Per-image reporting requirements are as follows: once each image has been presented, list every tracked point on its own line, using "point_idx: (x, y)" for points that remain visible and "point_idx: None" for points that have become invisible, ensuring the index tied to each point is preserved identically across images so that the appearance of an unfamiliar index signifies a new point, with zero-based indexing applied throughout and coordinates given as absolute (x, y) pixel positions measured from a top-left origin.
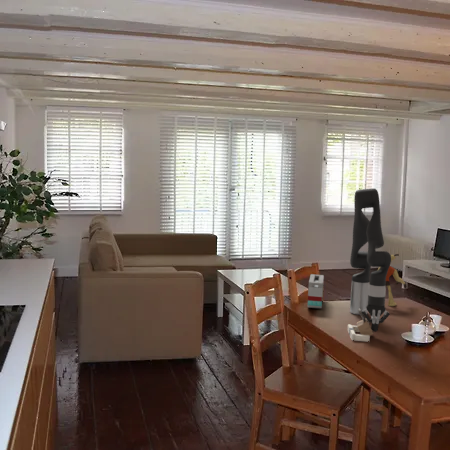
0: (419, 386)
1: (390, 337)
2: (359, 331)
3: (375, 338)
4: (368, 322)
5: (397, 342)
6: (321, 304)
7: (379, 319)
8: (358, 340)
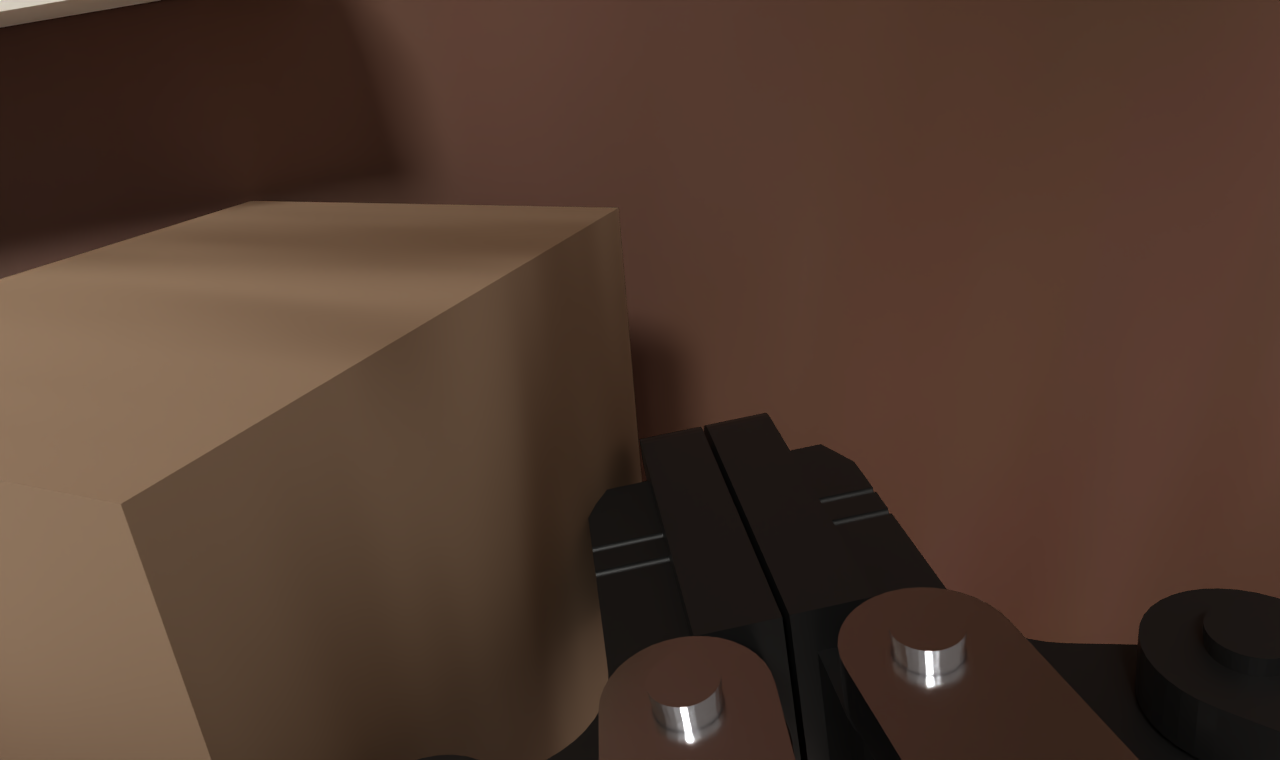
0: None
1: (1176, 228)
2: (89, 7)
3: None
4: (408, 449)
5: (1236, 581)
6: None
7: (1216, 711)
8: None
